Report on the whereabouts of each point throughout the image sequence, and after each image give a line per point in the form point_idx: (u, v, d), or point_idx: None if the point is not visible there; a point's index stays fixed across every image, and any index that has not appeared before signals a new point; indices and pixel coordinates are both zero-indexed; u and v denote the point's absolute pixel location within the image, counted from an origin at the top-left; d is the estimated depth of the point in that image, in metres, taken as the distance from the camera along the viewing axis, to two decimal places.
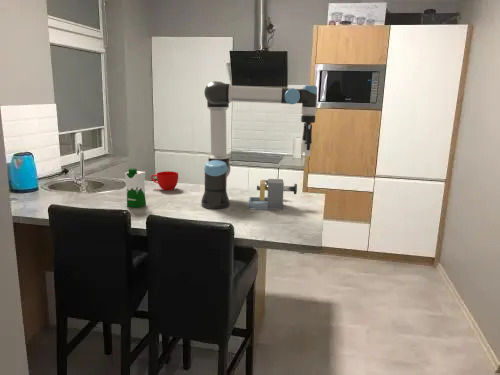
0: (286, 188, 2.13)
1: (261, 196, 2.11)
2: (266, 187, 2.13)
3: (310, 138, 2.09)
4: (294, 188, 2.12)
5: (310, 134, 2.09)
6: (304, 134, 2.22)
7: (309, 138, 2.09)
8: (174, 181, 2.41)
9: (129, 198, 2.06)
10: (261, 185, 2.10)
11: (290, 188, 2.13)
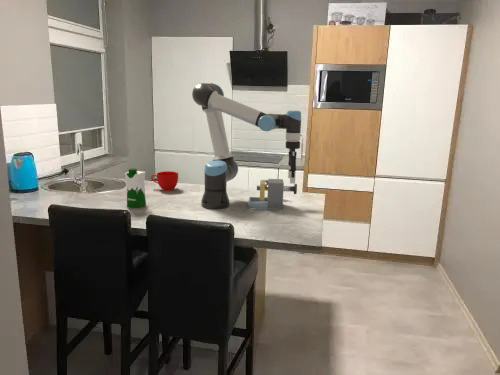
0: (286, 188, 2.13)
1: (261, 196, 2.11)
2: (266, 187, 2.13)
3: (294, 165, 2.02)
4: (294, 188, 2.12)
5: (294, 161, 2.02)
6: (289, 160, 2.15)
7: (293, 165, 2.02)
8: (174, 181, 2.41)
9: (129, 198, 2.06)
10: (261, 185, 2.10)
11: (290, 188, 2.13)
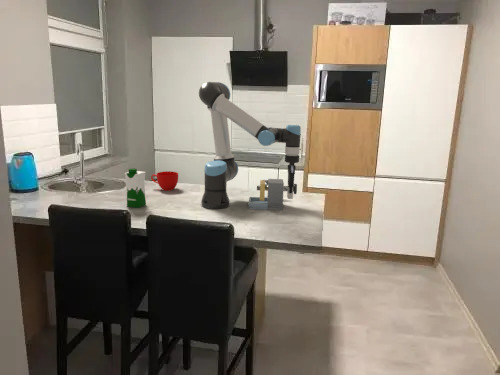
0: (286, 188, 2.13)
1: (261, 196, 2.11)
2: (266, 187, 2.13)
3: (292, 182, 2.08)
4: (294, 188, 2.12)
5: (293, 178, 2.07)
6: (289, 176, 2.14)
7: (291, 182, 2.08)
8: (174, 181, 2.41)
9: (129, 198, 2.06)
10: (261, 185, 2.10)
11: None
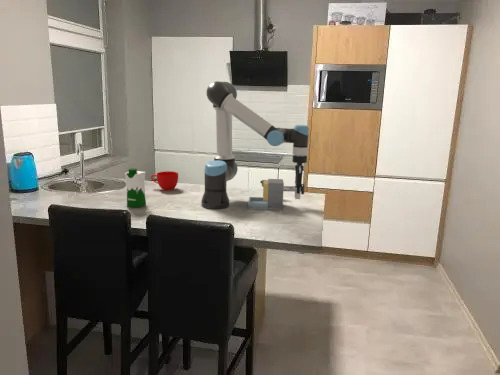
0: (294, 188, 2.13)
1: (264, 196, 2.11)
2: None
3: (300, 183, 2.08)
4: (302, 188, 2.12)
5: (300, 179, 2.07)
6: (296, 176, 2.14)
7: (299, 183, 2.08)
8: (174, 181, 2.41)
9: (129, 198, 2.06)
10: (264, 185, 2.10)
11: None
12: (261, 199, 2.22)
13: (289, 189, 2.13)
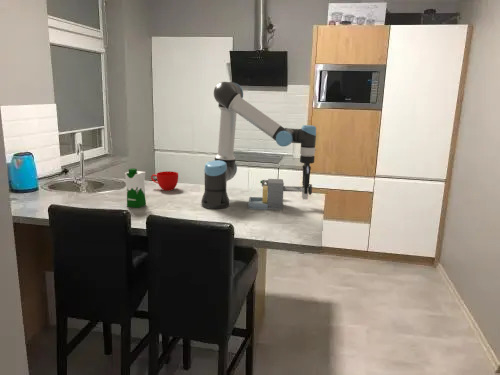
0: (301, 188, 2.13)
1: (264, 202, 2.12)
2: None
3: (308, 183, 2.08)
4: (309, 189, 2.12)
5: (308, 179, 2.07)
6: (303, 176, 2.14)
7: (307, 183, 2.08)
8: (174, 181, 2.41)
9: (129, 198, 2.06)
10: (264, 191, 2.10)
11: None
12: (261, 199, 2.22)
13: (296, 189, 2.13)
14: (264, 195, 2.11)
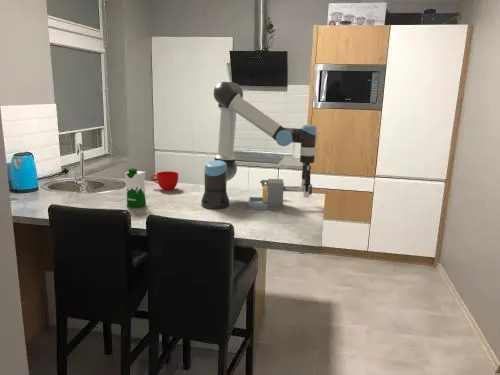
0: (301, 188, 2.13)
1: (264, 202, 2.12)
2: None
3: (309, 180, 2.03)
4: (309, 189, 2.12)
5: (309, 176, 2.04)
6: (303, 173, 2.16)
7: (308, 180, 2.03)
8: (174, 181, 2.41)
9: (129, 198, 2.06)
10: (264, 191, 2.10)
11: None
12: (261, 199, 2.22)
13: (296, 189, 2.13)
14: (264, 195, 2.11)
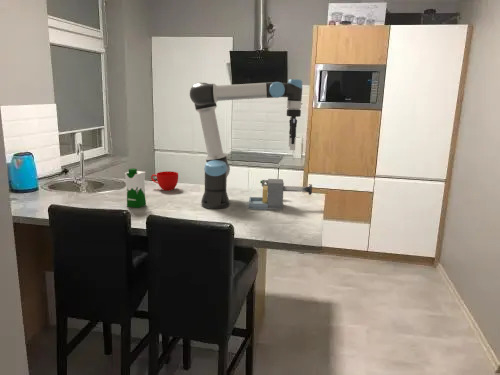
0: (301, 188, 2.13)
1: (264, 202, 2.12)
2: None
3: (294, 132, 2.09)
4: (309, 189, 2.12)
5: (295, 128, 2.09)
6: (290, 128, 2.22)
7: (293, 132, 2.09)
8: (174, 181, 2.41)
9: (129, 198, 2.06)
10: (264, 191, 2.10)
11: (305, 189, 2.13)
12: (261, 199, 2.22)
13: (296, 189, 2.13)
14: (264, 195, 2.11)
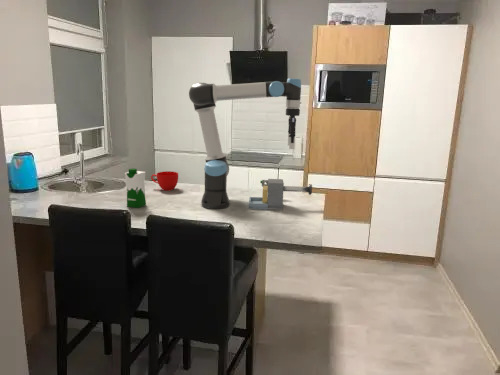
0: (301, 188, 2.13)
1: (264, 202, 2.12)
2: None
3: (294, 131, 2.10)
4: (309, 189, 2.12)
5: (294, 127, 2.10)
6: (289, 127, 2.23)
7: (293, 131, 2.10)
8: (174, 181, 2.41)
9: (129, 198, 2.06)
10: (264, 191, 2.10)
11: (305, 189, 2.13)
12: (261, 199, 2.22)
13: (296, 189, 2.13)
14: (264, 195, 2.11)
